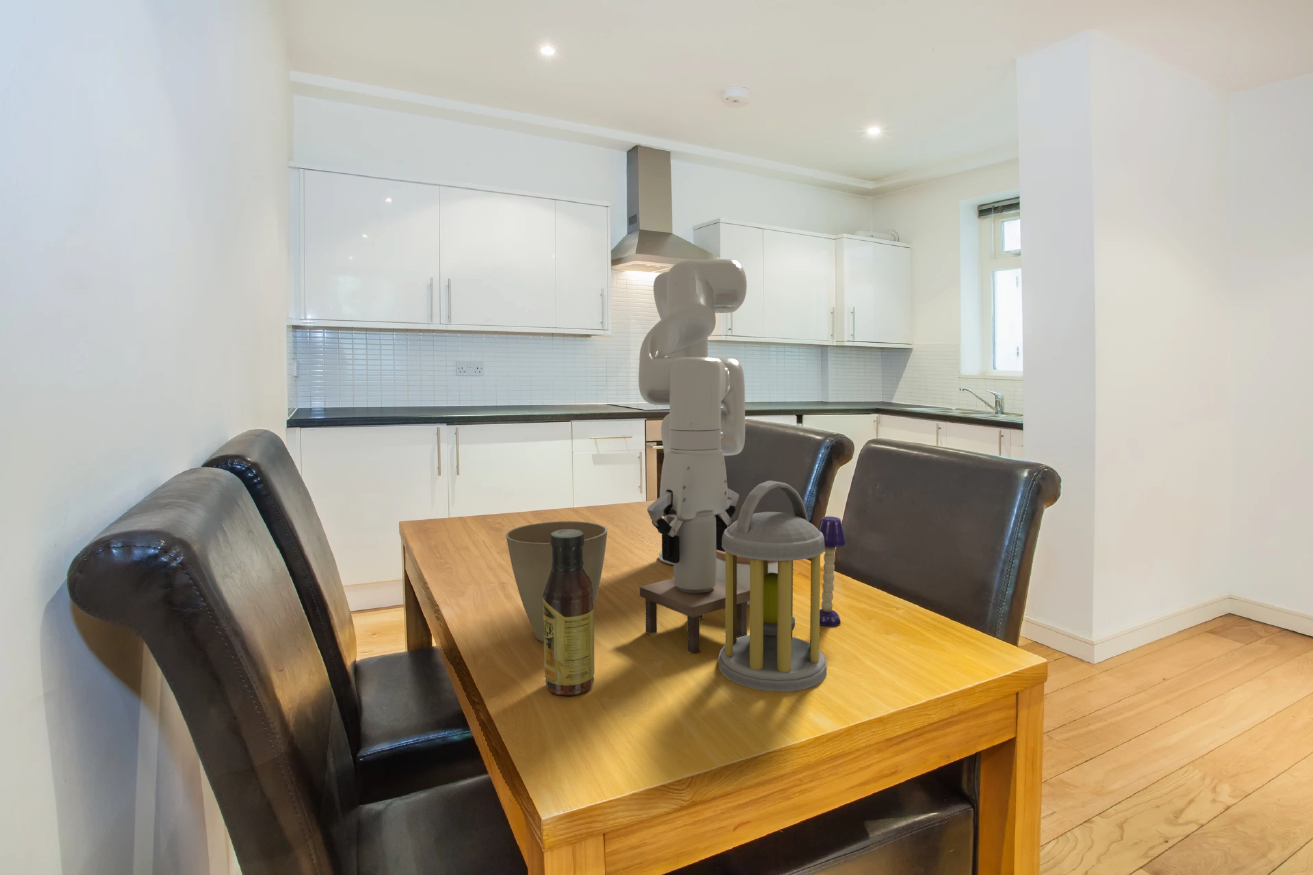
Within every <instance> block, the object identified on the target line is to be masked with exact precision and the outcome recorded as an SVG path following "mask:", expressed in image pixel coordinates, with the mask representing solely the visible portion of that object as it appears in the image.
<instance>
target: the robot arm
mask: <svg viewBox="0 0 1313 875" xmlns="http://www.w3.org/2000/svg"><path fill="white" fill-rule="evenodd" d="M747 282H748V281H747V275H746V271H745V269H744V268H743V266H742V264H741V263H740V262H738V260H734V259H730V258H728V259H727V258H726V259H725V258H724V259H716V258H715V259H687V260H683V261H679V262H677V263H675V264H674V265H673V266H671V268H670V269H669V270H668V271H665V272H664V271H663V272H661V273H659V274H658V275H657V276H655V278H654V281H653V298H654V303H655V307H656V310H657V313H658V315H659V318H660V320H659V321H658V322H656V324H655V325H654V326H653V327H652V328H651V329H650V330H649V331H648V332H647V333H646V335H645V336H644V339H643V341H642V342H641V346H640V350H639V359H638V360H639V361H638V362H639V363H638V388H639V389H638V390H639V393H640V396H641V397H642V399H643V401H645V402H646V403H647V404H649V405H655V406H669V413H668V414H667V415H665V416H664V418H663V419H662V421H661V426H660V427H661V428H660V434H661V440H662V448H663V454H664V455H663V456H664V457H663V462H662V467H661V473H660V474H661V475H660V487H659V497H658V498H657V499H656V500H655V501H653V502H652V503H651V504H650V505H648V507H647V508H646V510H647V513H648V516H649V517H650V520H651V524H652V525H653V527H655V529H656V530H657V532H658V534H661V551H660V552H659V553H658V554H659V555H658V559H659V560H660V561H661V562H662V563H665V564H668V565H673V566H674V563H678V562H679V561H680V546H679V536H677V535H676V533H677V531H678V529H679V528H680V526H681V524H682V522H683V521H689V520H692V519H694V518H695V517H696V516H695V515H696V514H699V513H704V512H709V511H710V512H711V511H713V515H714V516H715V517H716V550H719V551H723V552H725V550H724V549H723V548H722V536H723V533H724V531H725V529H727V528H728V527H729V526H730V525H731V524H732V517H733V516H734V514H735V512H736V506H737V505H738V501H739V499H740V498H739V497H740V494H739V493H737V492H735V491H734V490H732V489H730V488H729V487H728V480H727V479H728V478H727V476H728V475H727V468H726V462H725V456H736V455H739V454H740V453H742V451H743V449H744V447H745V440H746V392H745V391H746V390H745V389H746V388H745V387H746V386H745V384H746V383H745V374H744V370H743V367H742V365H741V363H740V362H739V361H738V360H736V359H735V358H731V357H712V356H709V348H708V347H709V337H710V336H711V335H712V333H713V332H714V330H715V328H716V325H717V324H716V323H717V322H716V320H717V318H716V314H729V313H730V314H731V313H735V312H736V311H738V310H739V309H740V307H741V306H742V305H743V303H744V301H745V299H746V295H747V288H748V285H747V284H748V283H747ZM721 407H722V408H723V410H722V408H721ZM673 520H674V521H673Z"/></svg>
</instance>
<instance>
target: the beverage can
mask: <svg viewBox="0 0 1313 875" xmlns="http://www.w3.org/2000/svg"><path fill="white" fill-rule="evenodd" d="M695 516H696V517H695V518H694V519H692V520H689V521H683V522H682V524H681V526H680V528H679V529H678V531H677V533H676V535H677V536H679V546H680V561H679V562H678V563H674V565H673V578H674V584H675V586H676V587H678V589H679V590H681V591H684V592H688V593H703V592H708V591H710V590H712V588H713V587H714V586H715V585H716V583H717V582H716V517H715V516H714V515H713V511H711V512H710V511H709V512H704V513H699V514H696V515H695ZM673 521H674V520H673Z"/></svg>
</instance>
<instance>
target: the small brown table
mask: <svg viewBox="0 0 1313 875" xmlns="http://www.w3.org/2000/svg"><path fill="white" fill-rule="evenodd" d="M716 582H717V583H716V585H715V586H714V587H713V588H712V590H710V591H708V592H703V593H688V592H684V591H681V590H679V589H678V587H676V586H675V584H674V577H672V578H669V579H665V580H661V581H657V582H654V583H650V584H646V585H642V586H639V597H641V598H643V599H644V600H645V606H644V607H645V633H648V634H649V635H652V634H655V633H657V632H658V626H657V625H658V621H657V618H658V616H657V615H658V614H657V612H658V611H657V610H658V608H657V605H660V606H662V607H665V608H667V609H669V610H672V611H675V612H677V613H679V614H682V615H685V616H686V617H687V652H688V653H690V654H692V655H695V654H697V653H700V651H701V650H700V649H701V648H700V646H701V642H700V641H701V640H700V637H701V636H700V635H701V634H700V632H701V631H700V630H701V629H700V624H701V622H700V621H701V620H700V619H703V618H704V616H705V615H708V614H710V613H714V612H716V611H719V610H723V609H724V610H725V609H726V581H725V580H722V579H718V578H716ZM749 600H750V589H749V588H746V587H743V586H740V585H737V637H742V636H748V605H747V601H749Z"/></svg>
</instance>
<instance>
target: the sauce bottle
mask: <svg viewBox="0 0 1313 875" xmlns="http://www.w3.org/2000/svg"><path fill="white" fill-rule="evenodd" d="M550 544H551V546H552V569H551V572H550V576H549V579H548V582H547V585H546V587H545V590H544V593H543V631H544V642H543V657H544V658H543V661H544V662H543V663H544V669H543V670H544V672H543V673H544V678H545V684H546V687H547V689H548V690H549V691H550V692H551V693H552V694H553V695H559V696H574V695H576V696H577V695H580V694H584V693H586V692H589V690H590V689H591V688H592V686H593V685H594V680H595V670H596V669H595V614H594V613H595V604H594V605H593V597H592V595H593V589H592V582H591V580H590V578H589V576H587V574H586V573H585V571H584V569H583V564H584V562H583V551H582V550H583V545H584V534H583V532H582V531H580V530H575V529H563V530H557V531H555V532H552V533H551V540H550Z"/></svg>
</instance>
